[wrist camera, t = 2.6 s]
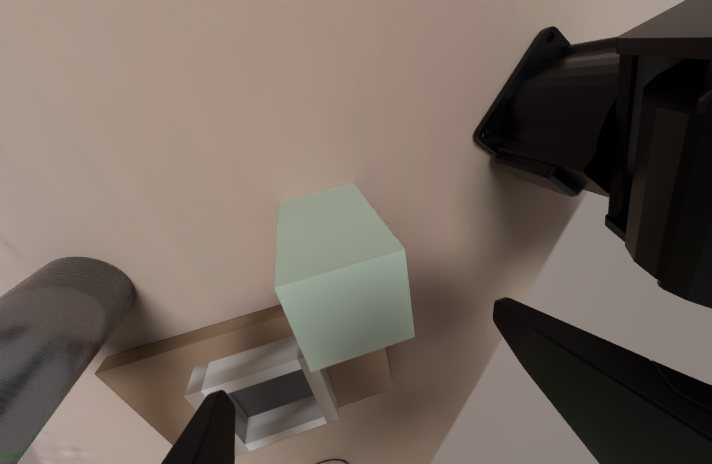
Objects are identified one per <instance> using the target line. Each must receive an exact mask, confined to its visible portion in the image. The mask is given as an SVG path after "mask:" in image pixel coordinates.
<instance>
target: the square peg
mask: <svg viewBox="0 0 712 464" xmlns="http://www.w3.org/2000/svg"><path fill="white" fill-rule="evenodd" d="M274 289H275V292H276V294H277V296H278V298H279V301H280V303H281V305H282V308H283V310H284V312H285V314H286V317H287V319H288V321H289V323H290V326H291V328H292V330H293V333H294V335H295V337H296V339H297V342H298V344H299V346H300V349H301V351H302V353H303V355H304V358H305V360H306V362H307V364H308V367H309V369H310V371H311V372H314V371H316V370H319V369H322V368H325V367H328V366H331V365H334V364H337V363H340V362H343V361H346V360H349V359H352V358H355V357H358V356H361V355H364V354H367V353H370V352H373V351H376V350H379V349H382V348H385V347H388V346H391V345H394V344H397V343H400V342H402V341H405V340H408V339H411V338H414V337H415V333H414V324H413V315H412V306H411V298H410V289H409V280H408V271H407V262H406V254H405V249H404V247H403V246H402V245H401V244H400V242H399V241H398V240H397V238H396V237H395V236H394V235H393V233H392V232H391V231H390V229H389V228H388V227H387V226H386V224H385V223H384V222H383V220H382V219H381V218H380V217H379V215H378V214H377V213H376V211H375V210H374V209H373V207H372V206H371V205H370V204H369V202H368V201H367V200H366V198H365V197H364V196H363V195H362V193H361V192H360V191H359V189H358V188H357V187H356V186H355V184H354V183H351V184H347V185H343V186H339V187H335V188H331V189H327V190H324V191H320V192H316V193H312V194H308V195H304V196H300V197H296V198H293V199H289V200H285V201H281V202H279V212H278V229H277V246H276V263H275V279H274Z"/></svg>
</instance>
